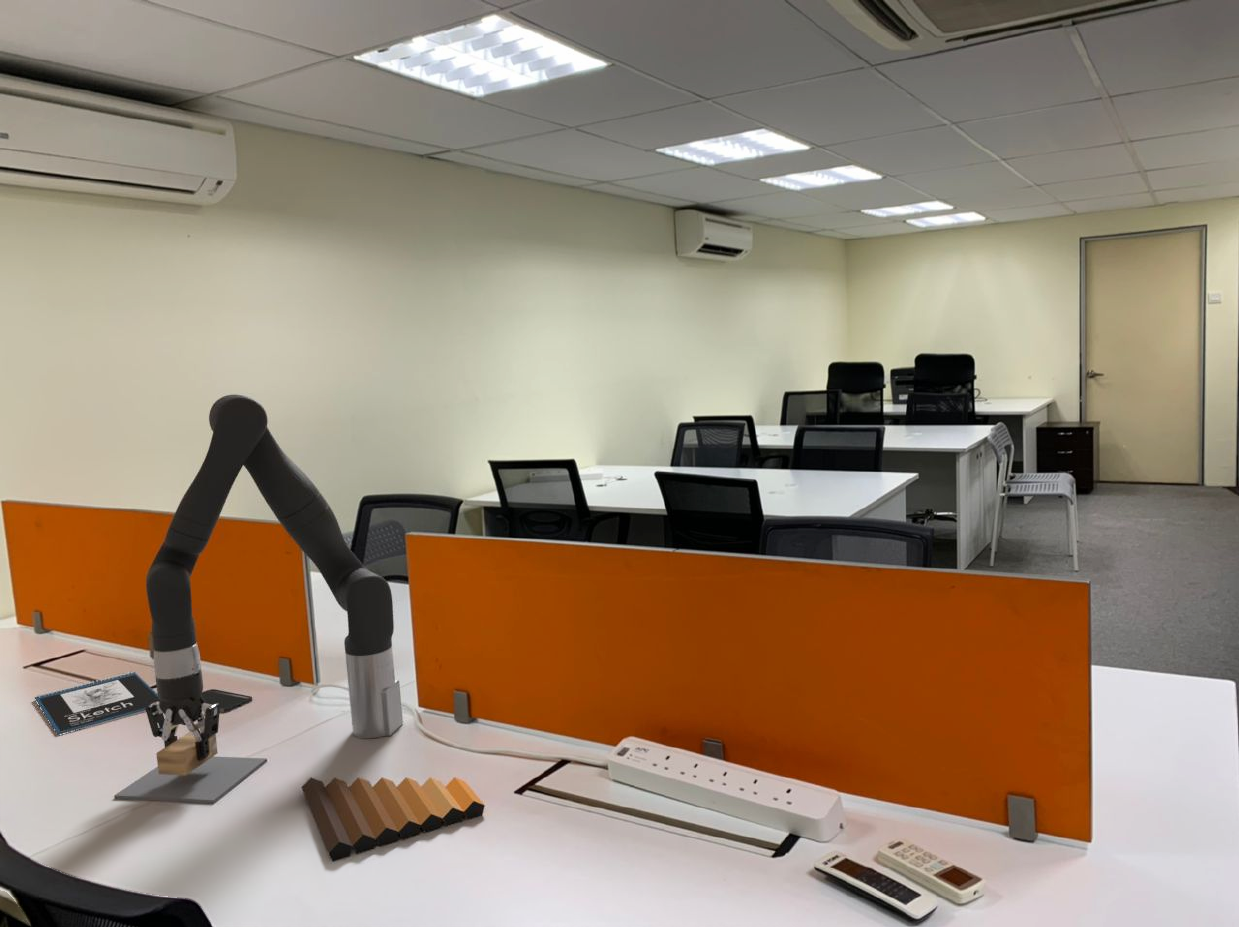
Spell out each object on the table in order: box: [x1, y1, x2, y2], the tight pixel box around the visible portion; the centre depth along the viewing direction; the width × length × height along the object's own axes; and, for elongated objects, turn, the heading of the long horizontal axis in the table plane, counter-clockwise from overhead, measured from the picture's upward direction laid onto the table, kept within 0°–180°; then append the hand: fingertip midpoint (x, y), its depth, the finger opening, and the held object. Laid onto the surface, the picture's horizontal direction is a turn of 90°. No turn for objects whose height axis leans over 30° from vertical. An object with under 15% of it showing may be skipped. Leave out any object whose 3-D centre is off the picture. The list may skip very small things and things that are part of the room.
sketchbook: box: [34, 671, 161, 736], centre depth 206 cm, size 22×30×2 cm
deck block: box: [156, 731, 219, 775], centre depth 163 cm, size 9×6×4 cm, turn 169°
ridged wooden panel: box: [301, 776, 486, 862], centre depth 150 cm, size 25×3×25 cm
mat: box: [113, 756, 268, 804], centre depth 164 cm, size 20×16×1 cm
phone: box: [202, 688, 254, 713], centre depth 202 cm, size 8×1×15 cm
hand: (188, 757), depth 163 cm, fingers closed on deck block, 5 cm apart
